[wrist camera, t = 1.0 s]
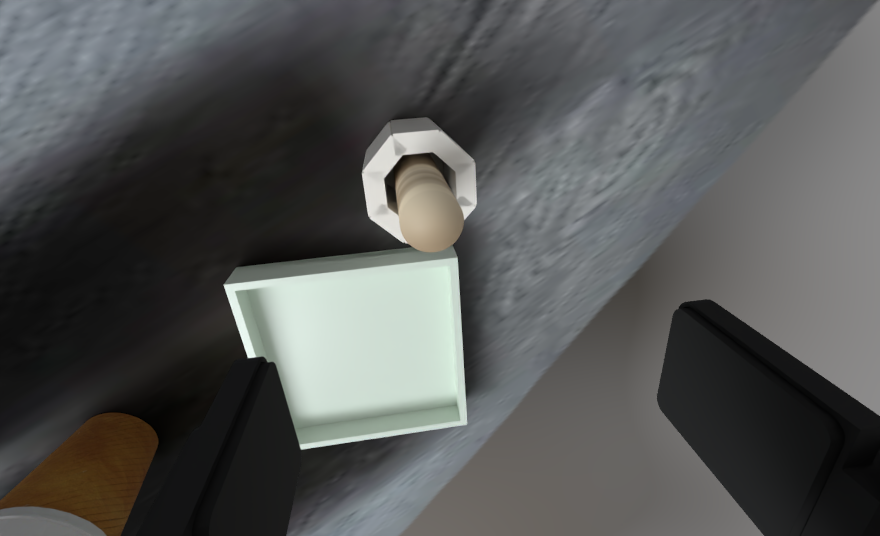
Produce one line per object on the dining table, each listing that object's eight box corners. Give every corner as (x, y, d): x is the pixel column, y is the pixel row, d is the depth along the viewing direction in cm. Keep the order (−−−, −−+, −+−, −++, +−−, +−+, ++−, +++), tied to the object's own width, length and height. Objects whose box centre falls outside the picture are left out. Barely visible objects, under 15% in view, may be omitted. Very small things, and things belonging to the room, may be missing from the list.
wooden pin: (391, 149, 29) (396, 194, 19) (433, 145, 30) (462, 187, 19) (395, 190, 31) (403, 255, 20) (436, 186, 31) (465, 248, 20)
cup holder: (361, 122, 29) (356, 137, 23) (454, 114, 30) (473, 126, 24) (374, 212, 32) (373, 247, 26) (459, 203, 33) (477, 235, 27)
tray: (236, 267, 33) (223, 284, 30) (451, 242, 34) (457, 257, 31) (286, 426, 40) (279, 452, 37) (461, 401, 42) (467, 424, 39)
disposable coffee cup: (36, 439, 37) (-104, 589, 26) (105, 379, 36) (-15, 514, 25) (134, 488, 41) (46, 637, 30) (200, 437, 39) (132, 575, 29)
